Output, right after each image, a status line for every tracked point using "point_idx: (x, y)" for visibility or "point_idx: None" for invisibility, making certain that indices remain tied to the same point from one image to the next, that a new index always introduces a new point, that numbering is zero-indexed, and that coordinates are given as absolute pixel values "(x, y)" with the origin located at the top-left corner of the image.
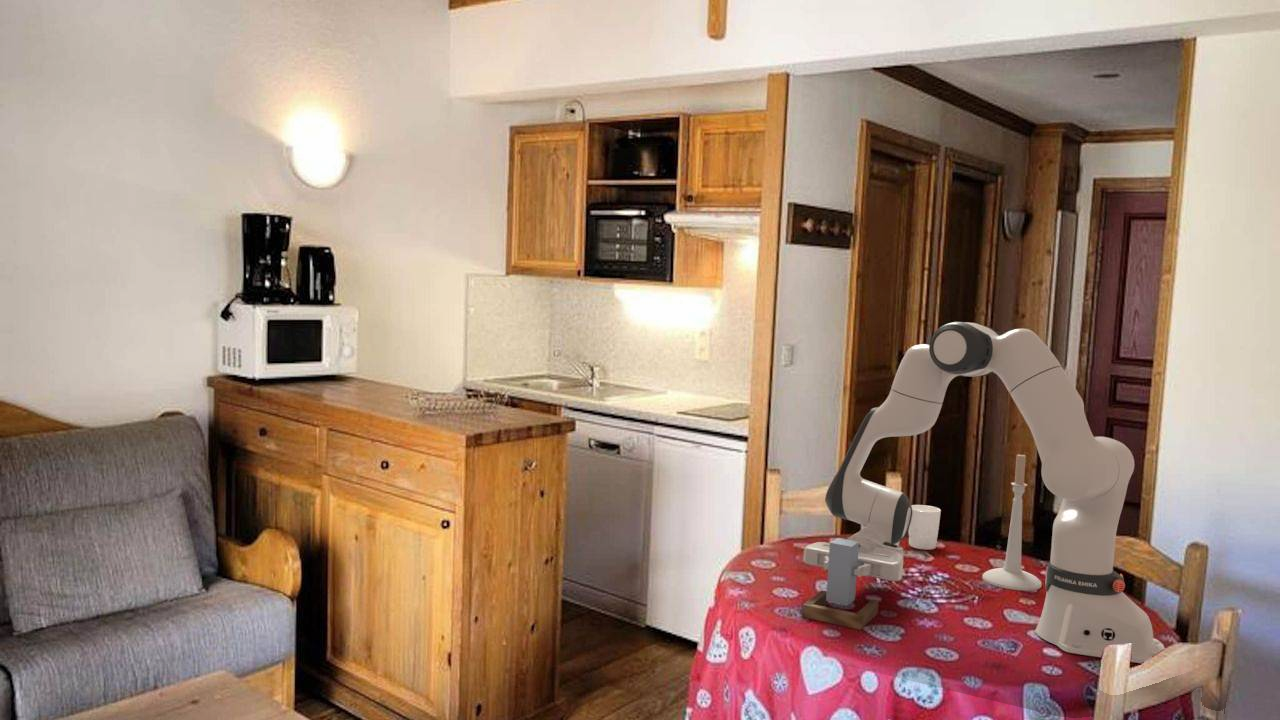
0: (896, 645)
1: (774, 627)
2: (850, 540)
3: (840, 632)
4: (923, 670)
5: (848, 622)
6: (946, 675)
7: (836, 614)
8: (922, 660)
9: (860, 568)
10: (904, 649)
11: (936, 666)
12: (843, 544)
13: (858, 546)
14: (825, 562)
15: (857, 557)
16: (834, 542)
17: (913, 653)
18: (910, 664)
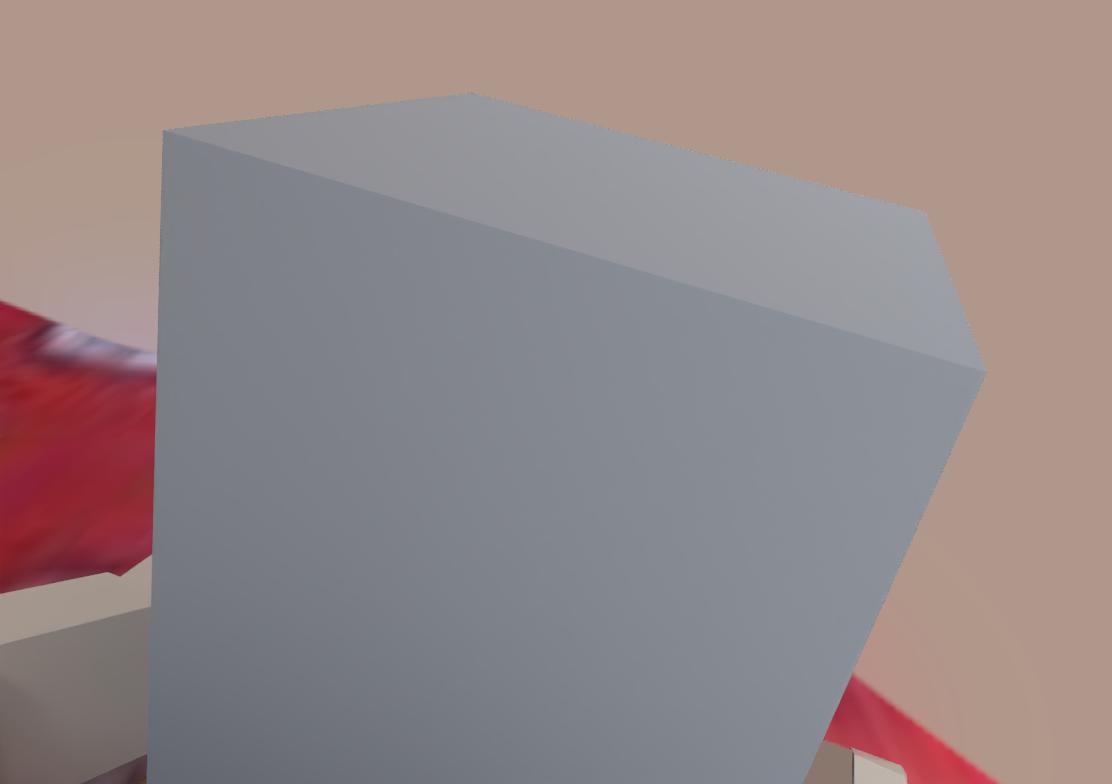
0: (83, 529)
1: (897, 720)
2: (447, 209)
3: None
4: (108, 347)
5: None
6: (20, 317)
7: None
8: (38, 401)
9: None
10: (61, 488)
11: (4, 362)
12: (636, 145)
13: (163, 287)
14: (876, 760)
15: (168, 574)
16: (845, 201)
17: (34, 453)
18: (141, 380)
